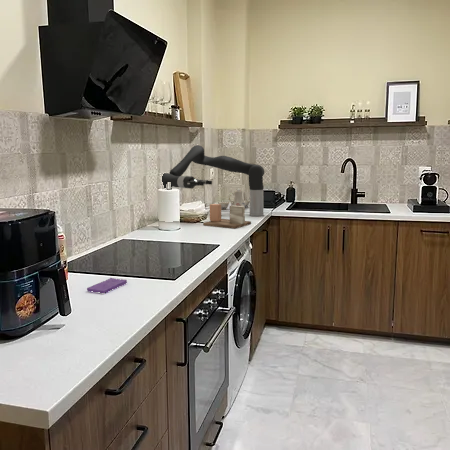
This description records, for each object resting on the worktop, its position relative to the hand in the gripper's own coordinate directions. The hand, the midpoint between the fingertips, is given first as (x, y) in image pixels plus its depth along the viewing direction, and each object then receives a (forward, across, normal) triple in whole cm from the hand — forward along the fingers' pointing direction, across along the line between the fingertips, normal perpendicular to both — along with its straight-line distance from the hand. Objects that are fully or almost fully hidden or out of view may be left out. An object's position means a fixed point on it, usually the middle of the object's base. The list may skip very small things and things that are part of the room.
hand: (207, 183), depth 278 cm
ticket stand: (+14, 0, -24) cm, 28 cm away
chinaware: (-15, -57, -24) cm, 64 cm away
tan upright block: (+6, +1, -22) cm, 23 cm away
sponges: (+46, +122, -25) cm, 133 cm away
